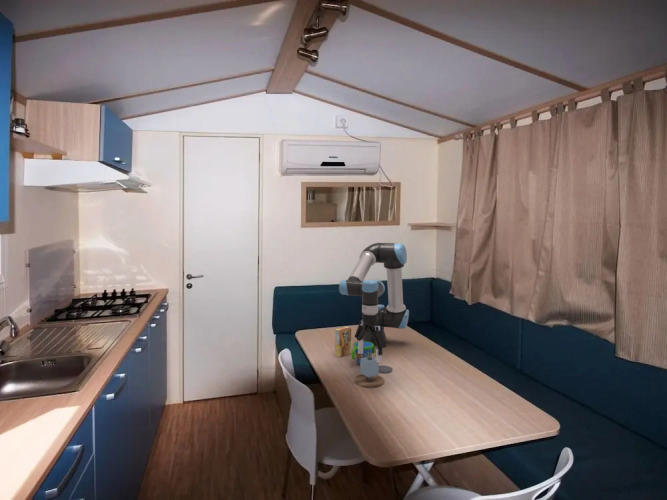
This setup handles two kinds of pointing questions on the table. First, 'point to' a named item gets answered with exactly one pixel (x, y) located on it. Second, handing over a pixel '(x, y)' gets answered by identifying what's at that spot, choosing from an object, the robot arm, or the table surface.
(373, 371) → the cube with round hole
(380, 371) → the coaster
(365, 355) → the snack cup
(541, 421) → the table surface
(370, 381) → the post stand
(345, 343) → the candy box
